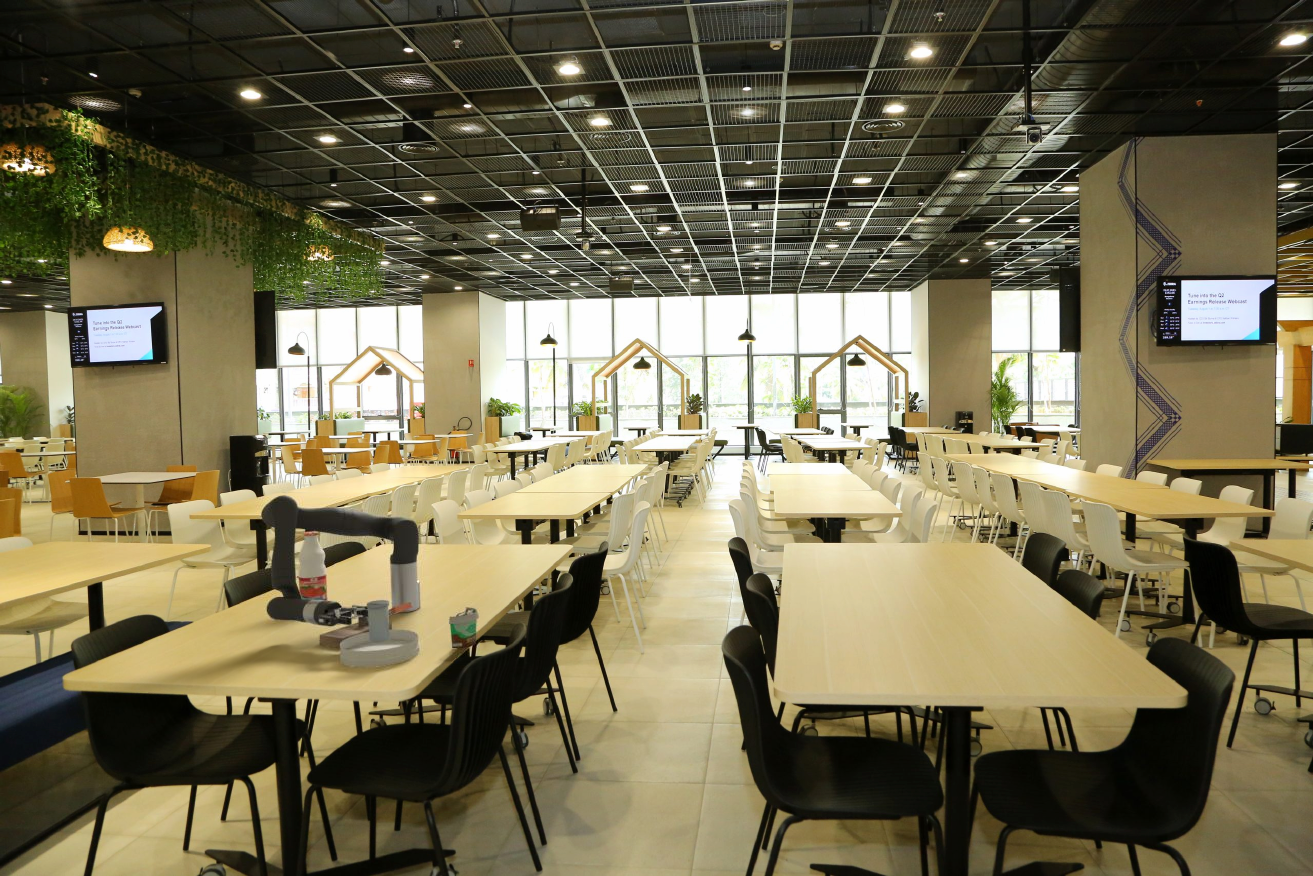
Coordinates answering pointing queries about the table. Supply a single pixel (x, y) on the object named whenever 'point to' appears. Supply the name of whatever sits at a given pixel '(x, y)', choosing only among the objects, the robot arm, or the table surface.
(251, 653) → the table surface
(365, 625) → the housing
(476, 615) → the food container
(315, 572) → the fruit juice
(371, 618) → the grey canister
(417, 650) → the dish
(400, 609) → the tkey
